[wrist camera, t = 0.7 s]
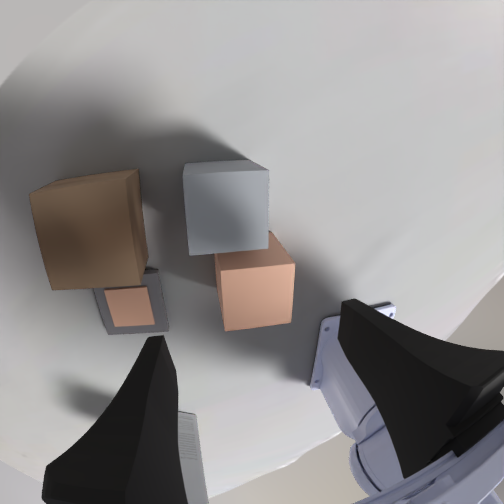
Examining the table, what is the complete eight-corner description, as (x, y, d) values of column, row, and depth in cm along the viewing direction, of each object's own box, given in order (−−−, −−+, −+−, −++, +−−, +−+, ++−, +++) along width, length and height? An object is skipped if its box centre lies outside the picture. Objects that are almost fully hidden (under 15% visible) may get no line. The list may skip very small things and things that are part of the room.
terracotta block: (270, 282, 22) (291, 322, 17) (216, 288, 21) (225, 331, 17) (271, 231, 20) (295, 263, 16) (213, 236, 19) (220, 270, 15)
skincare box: (182, 438, 28) (192, 527, 18) (147, 432, 27) (149, 523, 16) (198, 413, 27) (213, 515, 16) (159, 405, 25) (162, 512, 14)
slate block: (249, 219, 19) (268, 248, 15) (189, 224, 19) (189, 255, 14) (249, 159, 18) (268, 170, 13) (185, 163, 17) (182, 175, 13)
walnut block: (148, 255, 19) (140, 285, 16) (72, 262, 18) (52, 290, 15) (139, 168, 17) (125, 178, 13) (57, 180, 16) (29, 194, 12)
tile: (169, 326, 22) (168, 332, 21) (109, 330, 21) (107, 336, 20) (158, 269, 19) (157, 274, 19) (92, 274, 19) (89, 280, 18)
